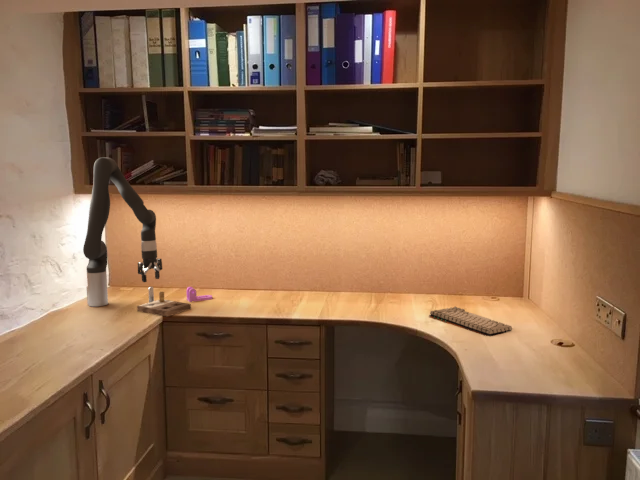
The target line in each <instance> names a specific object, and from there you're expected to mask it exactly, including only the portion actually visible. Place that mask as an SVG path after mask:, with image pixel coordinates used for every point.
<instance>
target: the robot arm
mask: <svg viewBox="0 0 640 480" xmlns="http://www.w3.org/2000/svg"><path fill="white" fill-rule="evenodd" d="M92 180H93V182H92V183H93V185H92V191H91V198H90V202H89V203H90V204H89V210H88V221H87V230H86V236H85V239H84V243H83V249H82V250H83V251H82V253H83V255H84V257H85V258H86V259H88V264H87V266H86V279H87V280H86V281H87V282H86V283H87V285H86V297H87V298H86V300H87V303H86V304H87V305H88V306H89V307H96V308H97V307H104V306H107V305H108V304H109V298H108V297H109V295H108V294H109V293H108V278H107V277H108V276H107V275H108V274H107V267H108V266H107V265H108V247H107V245H106V242H104V241H103V239H102V238H103V232H104V229H105V227H106V224H107V222H108V219H109V216H110V209H111V197H110V191H109V184H110V181H111V182H112V183H113V184H114V185H115V187H116V189H117V191H118V193H119V194H120V196H121V198H122V199H123V200H124V201H125V203H126V204H127V205H128V207H129V208H130V209H131V210H132V212H133V214H134V216H135V217H136V218H137V220H138V221H139V222H140V223H141V224H142V228H141V231H140V238H141V240H140V242H141V243H140V249H141V250H140V252H141V259H142V262H140V261H139V262H137V274H138V275H140V276H141V281H142V283H147V281H148V280H147V273H148V272H149V270H151V269H153V271H154V278H155V280H160V272H161V271H162V270H163V261H162V258H159V257H158V248H157V247H158V246H157V240H156V239H157V238H156V227H157V226H156V225H157V216H156V213H155V211H154V210H152V209H148V208H147V206H146V205H145V204H144V200H143V199H142V198H141V196H140V195H139V194H138V192H136V190H135V189H134V188H133V186H132V185H131V184H130V182H129V181H128V180H127V179H126V177H125V176H124V174H123V172H122V171H121V169H120V167H119V166H118V164H117V162H116V161H115V159H114V158H111V157H109V156H108V157H104V156H102V157H99V158H98V157H97V159H96V160H95V162H94V164H93V179H92Z"/></svg>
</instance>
